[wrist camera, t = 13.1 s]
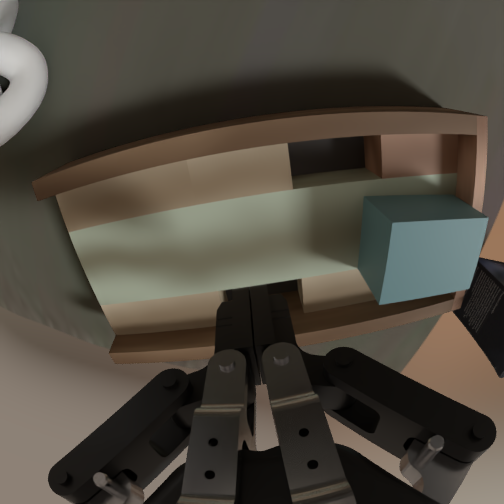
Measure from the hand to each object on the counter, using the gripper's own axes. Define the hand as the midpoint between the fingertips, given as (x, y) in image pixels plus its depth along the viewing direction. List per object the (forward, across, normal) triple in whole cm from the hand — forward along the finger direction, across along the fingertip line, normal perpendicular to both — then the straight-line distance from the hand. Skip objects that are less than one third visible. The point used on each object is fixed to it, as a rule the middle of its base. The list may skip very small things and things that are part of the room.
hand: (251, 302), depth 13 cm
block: (+6, -11, +1) cm, 12 cm away
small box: (+9, -25, +10) cm, 28 cm away
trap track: (+9, -2, 0) cm, 9 cm away
